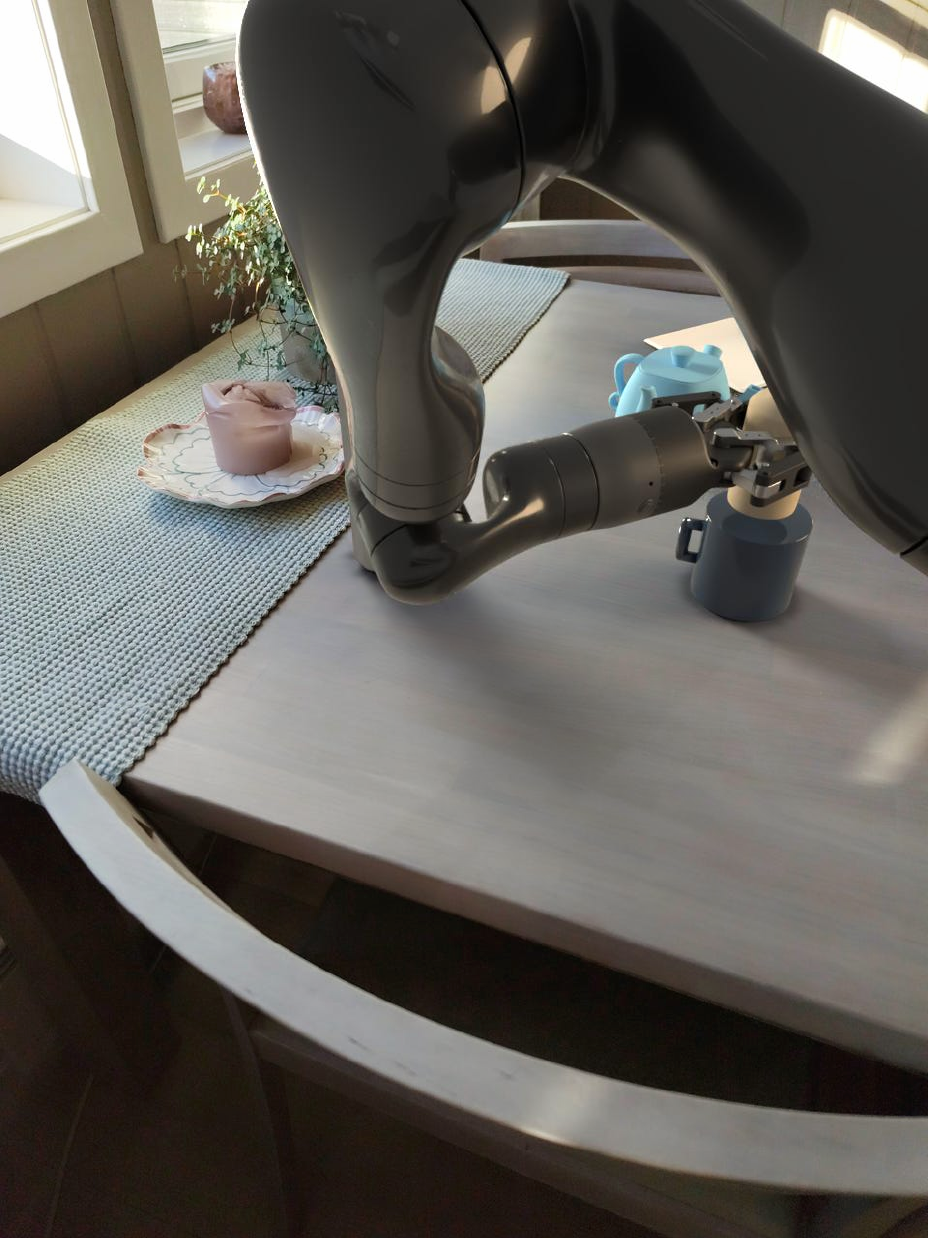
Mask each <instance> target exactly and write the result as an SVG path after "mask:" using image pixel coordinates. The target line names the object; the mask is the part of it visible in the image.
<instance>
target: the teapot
mask: <svg viewBox="0 0 928 1238" xmlns="http://www.w3.org/2000/svg"><path fill="white" fill-rule="evenodd" d="M721 354H722V350H721V349H720V348H718V347H716V346H713V345H705V347H704V349H703V351H702V352H698V351H696V350H695V349H694V348H691V347H689V346H675V347H666V348H662V349H659V350H656V349H655V350H654V351H652V352H650V353H649V354H648V355H646V356H644V355H643V354H640V353H633V352H632V353H627V354H625V355H622V356H621V357H620V358H618V360H617V361H616V363H615V365H614V369H613V370H614V371H613V376H614V381H615V386H616V390H617V391H614V392H612V393H611V394H610V395H609V398H608V405H609V407H610V408H611V410H613V411H614V412H615V416H614V418H615V417H619V416H624V415H628V414H632V413H637V412H641V411H646V410H650V406H651V400H652V399H653V398H657V397H666V396H674V395H682V394H690V393H699V392H707V391H716V392H719V393H721V400H724V401H726V400H728V399H731V390H730V389H729V384H728V380H727V376H726V372H725V368H724V366H723V363H722V361H721V360H720V356H721ZM626 363H634V364H636V365H637V366H636V368H635V369H634V371H633V373H632V374H631V377H630V378H629V379H628V381H627V382H626V380H625V375H624V367H625V364H626ZM761 390H763V388H761V387H758V386H755V385H753V384H751V385H750V386H749V387H747V389H746V391H745V392H744V393H743V394H739V396H738V397H737V398H736V399H739V400H741V401H742V402H743V401H747V400H750V398H751V397H752V396H753V395H755V394H756V393H758V392H760V391H761ZM617 398H619V399H618V400H617ZM703 408H704V404H702V405H697V406H695V408H694V411H693V415H695V414H696V413H698V412H703Z"/></svg>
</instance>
